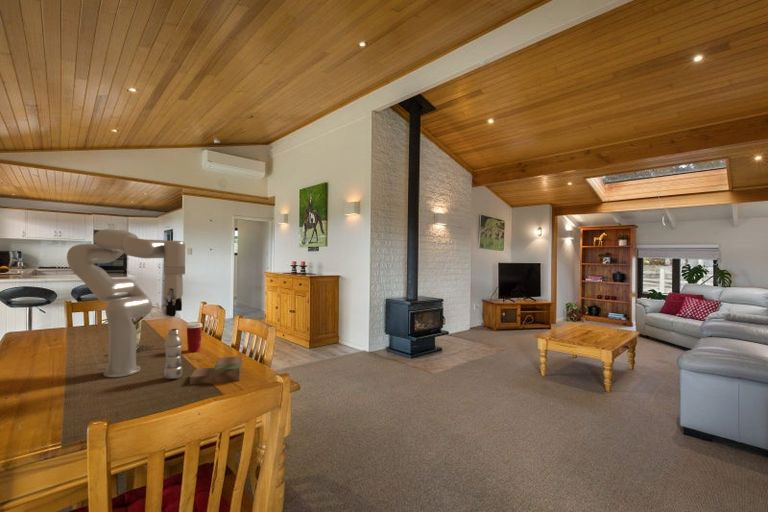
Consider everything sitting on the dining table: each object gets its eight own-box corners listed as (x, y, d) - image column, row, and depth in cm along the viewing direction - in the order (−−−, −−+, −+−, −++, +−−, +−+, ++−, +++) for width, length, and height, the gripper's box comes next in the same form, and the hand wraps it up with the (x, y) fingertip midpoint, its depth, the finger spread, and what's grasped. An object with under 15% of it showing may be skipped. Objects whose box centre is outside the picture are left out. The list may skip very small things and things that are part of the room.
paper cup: (205, 350, 187) (205, 323, 187) (190, 354, 180) (191, 326, 180) (197, 347, 191) (197, 321, 191) (182, 351, 185) (182, 324, 184)
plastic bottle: (174, 381, 144) (174, 332, 143) (159, 380, 145) (160, 330, 145) (186, 376, 150) (186, 328, 150) (172, 374, 151) (172, 327, 151)
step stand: (189, 384, 141) (190, 367, 141) (195, 375, 151) (195, 359, 151) (239, 380, 146) (239, 363, 146) (241, 372, 156) (241, 356, 156)
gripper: (170, 269, 154) (169, 309, 154) (157, 272, 137) (157, 317, 137) (189, 269, 156) (189, 309, 156) (179, 272, 139) (179, 316, 140)
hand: (174, 312), depth 147 cm, fingers open, 9 cm apart
